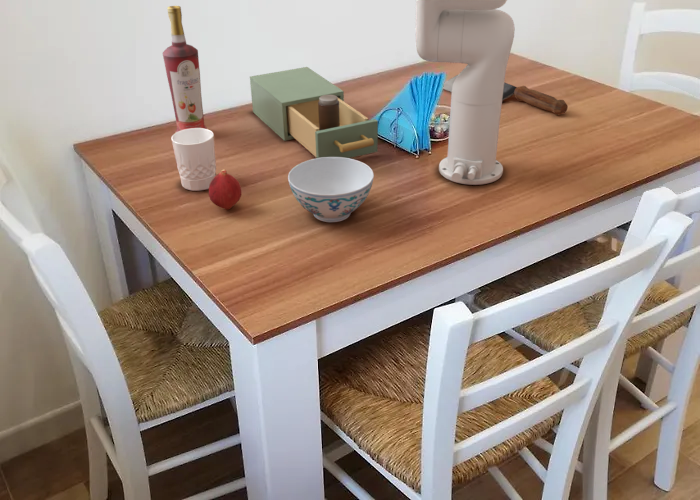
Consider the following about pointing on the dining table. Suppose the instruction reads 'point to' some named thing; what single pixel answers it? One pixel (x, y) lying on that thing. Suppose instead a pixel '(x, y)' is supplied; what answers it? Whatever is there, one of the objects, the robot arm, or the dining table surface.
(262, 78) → the cabinet
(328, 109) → the pepper mill
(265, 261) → the dining table surface
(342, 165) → the chinaware
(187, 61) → the liquor
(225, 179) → the onion
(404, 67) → the dining table surface
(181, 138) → the white cup
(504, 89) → the meat cleaver
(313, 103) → the drawer
